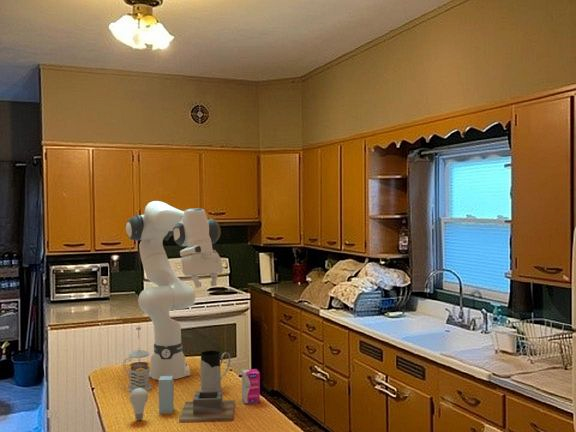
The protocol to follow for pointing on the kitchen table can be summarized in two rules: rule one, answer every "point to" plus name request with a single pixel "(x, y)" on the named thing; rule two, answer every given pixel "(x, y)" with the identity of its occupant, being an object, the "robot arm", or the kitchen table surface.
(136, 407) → the lightbulb
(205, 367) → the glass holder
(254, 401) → the supplement box
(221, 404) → the socket
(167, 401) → the peg
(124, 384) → the kitchen table surface
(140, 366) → the french press
